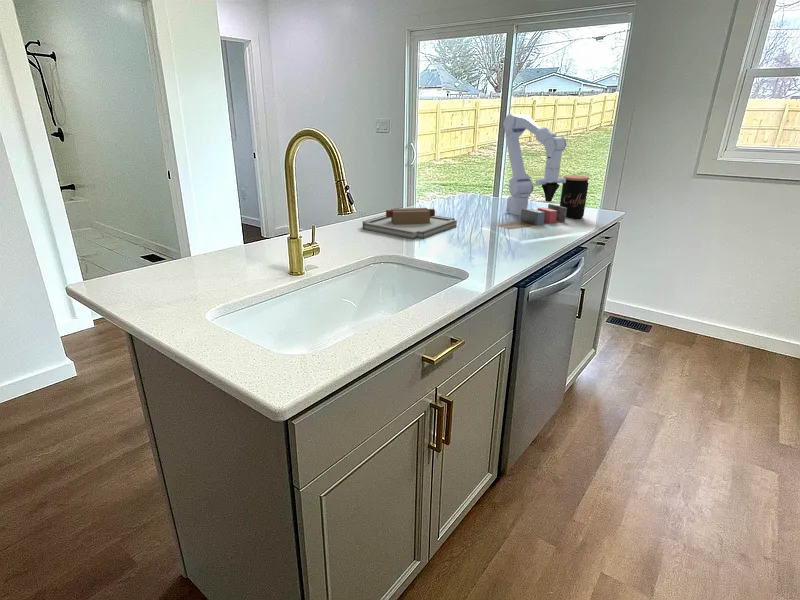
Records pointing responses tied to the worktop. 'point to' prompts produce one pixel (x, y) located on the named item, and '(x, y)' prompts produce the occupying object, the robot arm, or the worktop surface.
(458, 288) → the worktop surface
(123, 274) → the worktop surface
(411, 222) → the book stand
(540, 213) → the slate book
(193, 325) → the worktop surface
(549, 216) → the red rectangular block
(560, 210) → the book shelf
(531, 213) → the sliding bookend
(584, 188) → the coffee jar
